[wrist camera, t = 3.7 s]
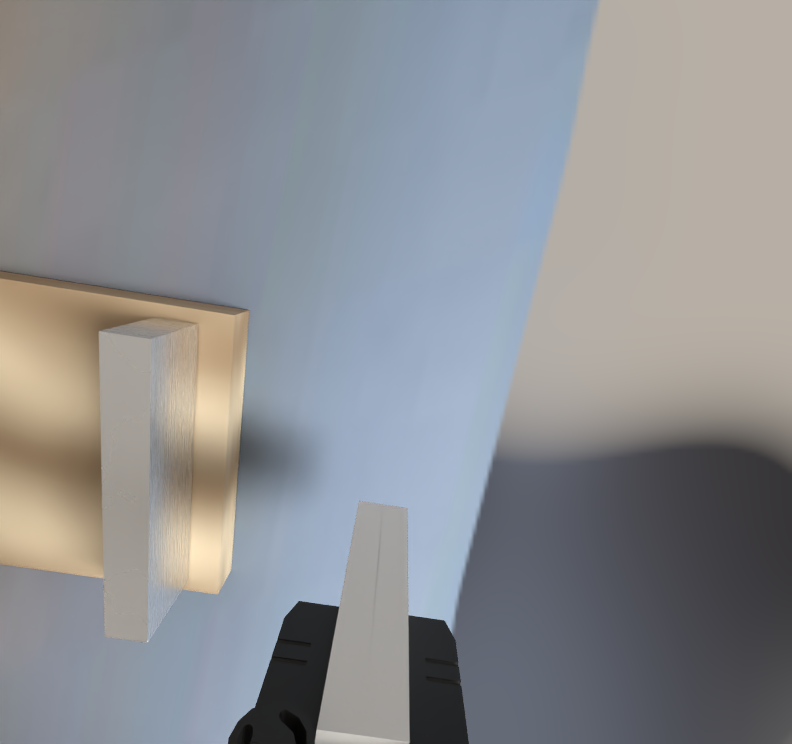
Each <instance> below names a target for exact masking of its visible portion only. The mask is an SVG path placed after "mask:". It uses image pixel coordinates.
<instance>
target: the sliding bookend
mask: <svg viewBox="0 0 792 744" xmlns="http://www.w3.org/2000/svg"><path fill="white" fill-rule="evenodd" d="M197 344H198V324H196V323H190V322H183V321H177V320H171V319H164V318H158V317H155V318H151V319H147V320H142V321H138V322H134V323H130V324H126V325H122V326H118V327H114V328H110V329H106V330H101V331H99V370H100V420H101V470H102V520H103V570H104V620H105V637H110V638H117V639H124V640H132V641H139V642H147V643H148V641H149V640H150V638H151V637H152V635H153V634H154V632H155V631H156V629H157V628H158V626H159V625H160V623H161V622H162V620H163V619H164V617H165V615H166V614H167V612H168V611H169V609H170V608H171V606H172V605H173V603H174V602H175V600H176V599H177V597H178V596H179V594H180V593H181V591H182V590H183V588H184V587H185V585H186V584H187V582H188V571H189V546H190V521H191V496H192V470H193V445H194V420H195V394H196V369H197Z"/></svg>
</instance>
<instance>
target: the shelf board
mask: <svg viewBox="0 0 792 744" xmlns="http://www.w3.org/2000/svg"><path fill="white" fill-rule="evenodd" d="M155 317H158V318H164V319H171V320H177V321H183V322H190V323H196V324H198V344H197V369H196V394H195V420H194V445H193V470H192V496H191V521H190V546H189V571H188V582H187V584H186V585H185V587H184V588H183V590H190V591H198V592H205V593H212V594H218V593H219V591H220V589H221V587H222V586H223V584H224V582H225V580H226V578H227V576H228V575H229V573H230V571H231V565H232V551H233V536H234V522H235V507H236V493H237V479H238V464H239V450H240V435H241V421H242V407H243V392H244V378H245V363H246V349H247V335H248V320H249V310H244V309H238V308H232V307H225V306H219V305H213V304H206V303H200V302H194V301H187V300H181V299H175V298H168V297H162V296H156V295H149V294H143V293H136V292H130V291H124V290H117V289H111V288H105V287H98V286H92V285H86V284H79V283H73V282H67V281H60V280H54V279H48V278H41V277H35V276H29V275H22V274H16V273H10V272H3V271H0V564H4V565H11V566H18V567H26V568H33V569H40V570H47V571H54V572H61V573H69V574H76V575H83V576H90V577H97V578H104V570H103V520H102V470H101V420H100V370H99V331H101V330H106V329H110V328H114V327H118V326H122V325H126V324H130V323H134V322H138V321H142V320H147V319H151V318H155Z"/></svg>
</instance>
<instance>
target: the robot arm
mask: <svg viewBox="0 0 792 744" xmlns="http://www.w3.org/2000/svg"><path fill="white" fill-rule="evenodd" d="M460 682H461V680H460V673H459V667H458V657H457V649H456V642H455V639H454V637H453V635H452V633H451V632H450V630H449V628H448V626H447V624H446V623H445V621H444V620H437V619H430V618H423V617H416V616H409V615H408V520H407V508H403V507H396V506H389V505H383V504H376V503H369V502H363V501H359V503H358V509H357V514H356V520H355V525H354V530H353V536H352V541H351V547H350V552H349V557H348V563H347V568H346V574H345V579H344V584H343V590H342V595H341V601H340V606H339V607H336V606H329V605H322V604H315V603H309V602H302V601H299V602H298V603H297V604H296V605H295V606H294V607H293V609H292V610H291V611H290V612H289V613H288V614H287V615H286V617H285V618H284V621H283V624H282V627H281V630H280V633H279V636H278V640H277V643H276V645H275V648H274V651H273V654H272V659H271V661H270V664H269V667H268V670H267V673H266V676H265V679H264V682H263V685H262V688H261V691H260V694H259V697H258V700H257V703H256V706H255V708H253V709H251V710H250V711H249V712H248V713H247V714H246V715H245V716H244V717H242V718H241V719H240V720H239V721H238V723H237V724H236V726H235V728H234V730H233V732H232V733H231V735H230V737H229V740H228V744H469V742H468V734H467V726H466V719H465V711H464V704H463V696H462V688H461V686H460Z"/></svg>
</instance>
